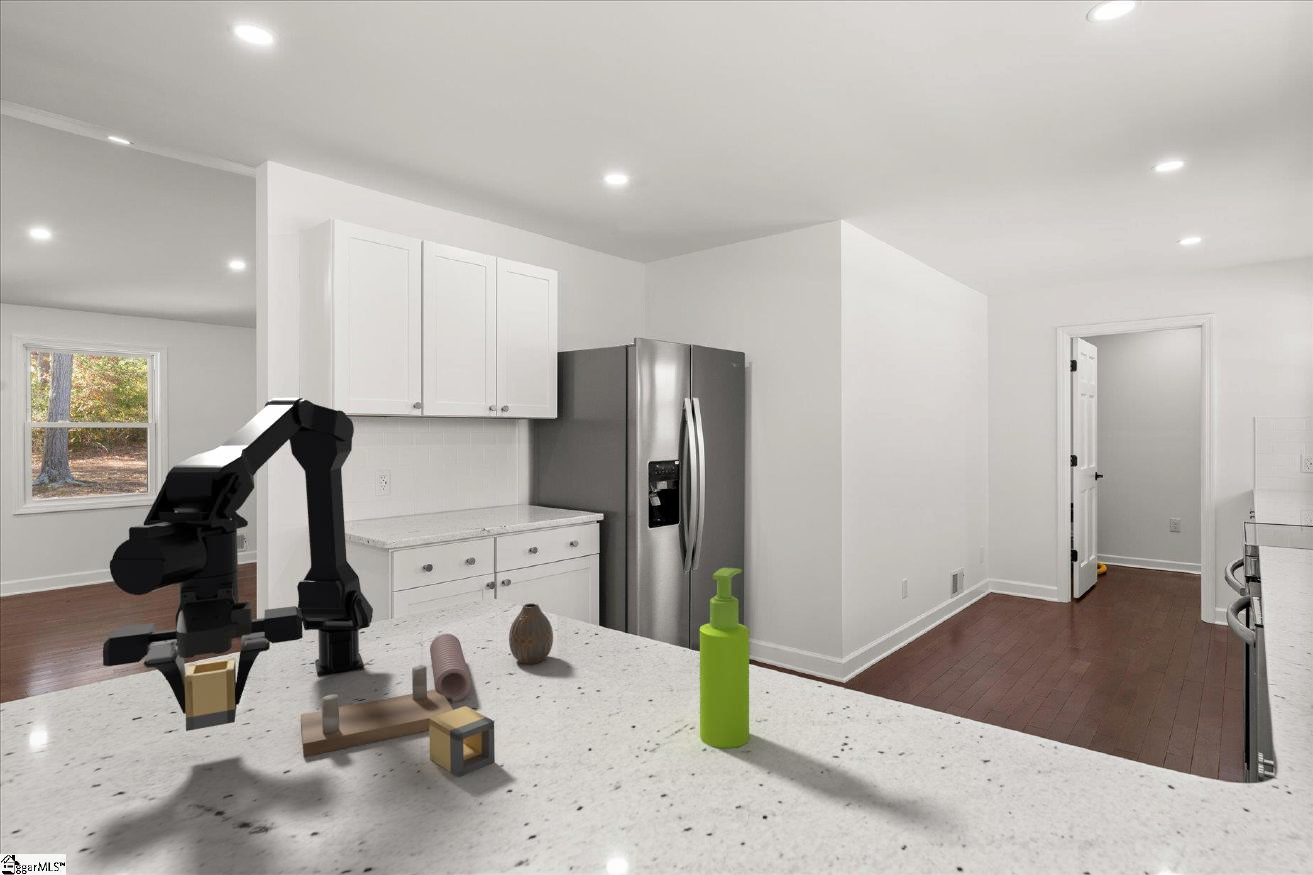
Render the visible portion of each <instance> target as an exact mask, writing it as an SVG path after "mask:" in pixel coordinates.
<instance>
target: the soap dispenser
mask: <svg viewBox="0 0 1313 875" xmlns="http://www.w3.org/2000/svg"><path fill="white" fill-rule="evenodd" d="M741 573H742V568H734V567H721V568H719V569H718V570H717V571H715V572H714V573H713V574H712V580H714V581H715V580H716V581H717V582H716V595H714V596H713V597H711V598H710V600H709V622H707V623H705V624H703V625H701V626H700V627H699V736H700V739H701V741H702V742H704V743H705V744H707V745H708V746H711V747H715V748H721V749H732V748H733V749H734V748H738V747H742V746H743V745H745V744H747V743H748V742H749V741H750V629H749V628H748V627H747V626H746V625H744V624H741V623H739V600H738V598H737V597H735V596H734V595H732V578H733V577H735V576H736V575H737V574H741Z"/></svg>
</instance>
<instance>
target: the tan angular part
mask: <svg viewBox="0 0 1313 875" xmlns="http://www.w3.org/2000/svg"><path fill="white" fill-rule="evenodd" d="M428 733H429V759H430V760H431V761H433V762H434V763H436V764H437V765H438V766H441V767H442V768H443V769H445V770H447V771H448V772H450V773H451V774H453V775H454V776H455V777H457V778H459V777H461V776H464V775H467V774H468V773H471V772H474V771H475V770H479V769H480V768H483V767H485V766H488V765H490V764H493V763H495V760H496V759H495V758H496V757H495V756H496V755H495V754H496V753H495V752H496V751H495V748H496V746H495V720H493V719H491V718H489V717H487V716H485V715H484V714H481V713H480V712H478V711H476V710H473V709H472V708H471V707H468V706H466V705H464V706H461V707H458V708H456V709H453V710H452V711H449V712H446V713H443V714H440V715H438V716H435V717H432V718H429V730H428Z"/></svg>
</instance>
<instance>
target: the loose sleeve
mask: <svg viewBox="0 0 1313 875" xmlns="http://www.w3.org/2000/svg"><path fill="white" fill-rule="evenodd" d="M236 666H237V665H236V657H233V658H232V657H231V658H225V659H218V660H217V659H216V660H212V661H211V660H210V661H204V662H197V663H196V662H195V663H191V664H188V667H187V670H186V671H185V672H186V675H185V711H186V714H185V731H186V732H189V731H195V730H200V729H205V728H211V727H217V726H222V725H227V724H233V723H235V722H236V715H237V705H235V687H236V680H237V672H236V670H237V669H236Z"/></svg>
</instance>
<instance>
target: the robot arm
mask: <svg viewBox="0 0 1313 875" xmlns="http://www.w3.org/2000/svg"><path fill="white" fill-rule="evenodd" d="M354 432H355V426H354V423H353V421H352V419H351V418H350V417H348V415H346V413H345V412H344V411H343V410H340V409H339V410H338V409H337V410H335V409H333V408H330V407H329V408H328V407H326V406H323V405H318V404H315V403H313V402H311V401H310V400H308V399H304V398H303V397H273V399H269V400H267V401H266V403H265V404H264V406H263V408H262V410H261V411H259V412H258V413H257V414H256V415H255V416H253V418H251V419H250V420H249V421H248V422H247V423H246V424H244V425H243V426H242V427H241V428H240V429H238V430H237V431H236V432H235V433H234V434H233V435H231V437H229V438H228V439H227V440H226V441H224V442H223V443H222V444H221V445H219V447H216V448H215V449H212V450H211V449H210V450H208V451H205V452H201V453H198V454H195V455H192V456H190V457H189V458H187V459H185V460H183V461H181V462H179V463H177V464H175V465H174V466H173V467H172V468H171V469H170V470H169V471H168V472H167V474H166V476H165V480H164V483H163V484H162V486H161V488H160V490H159V492H158V494H157V496H156V498H155V500H154V502H153V503H152V505H151V507H150V509H149V512H148V513H147V515H146V517H145V520H144V522H143V525H141V524H140V525H134V526H131V527H129V529H128V539H126V540H125V541H123V542H122V543H121V544H119V545H118V546H117V547H116V548H115V551H114V553H113V555H112V559H111V560H109V570H110V572H109V573H110V575H111V578H112V579H113V582H114V583H115V585H116V586H117V587H118V588H119V589H121V590H122V591H123V592H125V593H127V594H129V595H133V596H142V595H146V594H147V595H148V594H150V593H152V592H153V593H154V592H156V591H159V590H163V589H166V588H170V587H172V586H175V585H178V602H179V603H178V609H177V611H176V614H175V628H174V629H166V630H158V631H157V630H156V629H157V628H156V624H155V622H152V623H141V624H134V625H128V626H118V627H116V628H115V629H114V631H112V632H111V633H110V635H109V636H108V638H106V640H105V641H104V642H103V647H102V666H104V667H113V666H114V667H115V666H120V665H128V664H129V665H130V664H134V663H139V662H141V661H142V660H143V659H144V658H145V660H144V662H143V666H144V668H146V669H150V668H151V669H152V668H154V669H157V671H159V672H160V673H161V674H162V676H163V677H164V678H165V680H166V681H167V683H168V684H169V687H170V688H171V690H172V692H173V694H174V696H175V699H176V701H177V703H178V706H179V707H180V709H181V712H182V714H183V715H186V711H185V675H186V672H187V671H186V666H185V659H190V658H191V659H192V658H194V657H196V656H200V655H208V654H215V655H218V654H219V655H220V654H224V653H226V652H228V651H230V650H231V649H232V648H233V647H232V646H233V639H234V640H235V639H241V644H240V650H239V658H238V665H237V672H236V687H235V705H236V706H237V705H240V703H241V700H242V696H243V693H244V689H245V687H246V684H247V680H248V677H249V674H250V672H251V669H252V668H253V664H254V663H255V661H256V660H257V657H258V656H259V655H260V653H263V652H266V651H269V650H270V649H271V647H270V646H271V644H278V643H284V642H285V643H286V642H292V641H293V642H294V641H297V640H301V639H303V630H304V631H313V630H315V631H317V634H318V638H317V640H318V659H315V661H314V664H315V671H316V674H317V675H318V676H322V675H327V674H328V675H329V674H333V673H334V674H335V673H339V672H346V671H351V670H352V671H353V670H358V669H363V668H364V667H365V665H364V664H365V663H364V661H363V658H362V655H361V653H360V635H359V631H360V630H361V629H367V628H369V627H370V626H371V623H372V619H373V618H374V617H373V613H374V609H373V606H371V603H369V601H368V600H367V598H366V597H365V595H364V594H363V592H362V589H361V588H362V587H361V583H360V577H359V575H358V574H357V573H356V571H355V570H354V568H353V567H352V566H351V565H350V564H349V561H348V559H347V558H348V557H347V546H346V545H347V544H346V530H345V514H344V513H345V510H344V509H345V508H344V495H343V494H344V493H343V491H344V490H343V478H342V476H343V475H342V474H343V473H342V467H343V466H344V464H345V462H346V461H347V459H348V457H349V455H350V454H351V452H352V451H353V450H352V449H353V437H354ZM288 441H289V445H290V451H291V455H292V456H293V457H294V458H295V460H296V462H298V464H299V465H300V467H301V468H302V470H303V471H304V477H305V491H306V492H305V494H306V508H307V522H308V539H309V540H308V541H309V555H310V556H309V557H310V568H309V569H308V571H307V573H306V575H305V576H304V578H303V580H300V581H299V582H298V584H297V586H296V588H297V594H298V595H297V596H298V604H297V606H296V605H295V606H285V607H277V608H269V609H264V616H263V618H253V619H252V602H251V601H245V602H239V565H238V564H239V563H238V561H239V559H238V554H239V553H238V530H237V529H243V528H246V527H247V526H248V525H249V522H248V520H246V518H245V517H244V516H241V515H240V514H238V512H237V511H238V510H240V509H241V507H242V506H243V505H244V503H245V502H246V501H247V499H248V498H249V497H250V496H251V493H252V492H253V490H254V489H255V478H254V477H255V474H257V472H258V471H259V470H260V469H261V468H262V466H264V464H266V463H267V462H268V461H269V460H270V459H271V458H272V457H273V456H274V455H275V454H276V452H278V451H279V450H280V449H281V448H282V447H283V446H284V445H285V444H286V443H287V442H288Z"/></svg>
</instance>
